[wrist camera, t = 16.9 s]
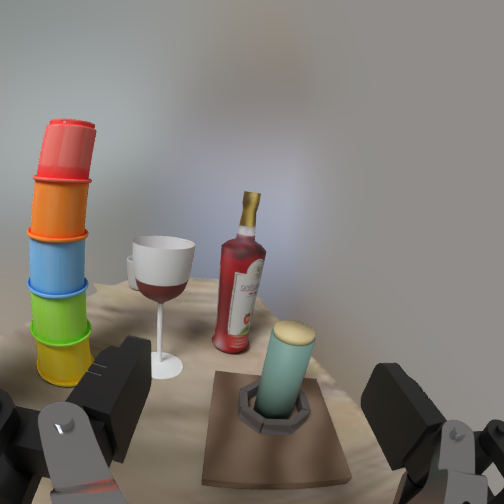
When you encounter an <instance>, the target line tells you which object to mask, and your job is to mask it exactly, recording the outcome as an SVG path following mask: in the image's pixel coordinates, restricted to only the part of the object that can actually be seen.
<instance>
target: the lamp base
mask: <svg viewBox="0 0 504 504" xmlns="http://www.w3.org/2000/svg"><path fill="white" fill-rule="evenodd" d="M260 379H261V376H259V375H248V374H239V373H230V372H222V371H215V378H214V385H213V393H212V400H211V408H210V416H209V424H208V432H207V440H206V448H205V457H204V465H203V474H202V485H207V486H216V487H226V488H239V489H300V488H313V487H324V486H332V485H339V484H346V483H348V481H349V480H350V479H351V478H352V476H351V473H350V470H349V467H348V465H347V462H346V459H345V456H344V453H343V451H342V448H341V445H340V442H339V439H338V437H337V434H336V431H335V428H334V426H333V423H332V420H331V417H330V415H329V412H328V409H327V407H326V404H325V401H324V398H323V396H322V393H321V390H320V388H319V385H318V382H317V380H316V379H308V378H304V379H303V382H302V385H301V388H300V390H299V393H298V396H297V399H296V402H295V405H294V407H293V410H292V413H291V416H290V418H289V419H288V420H284V419H265V418H264V417H262V416H261V415H259V414H258V413H257V412H255V411H254V410H253V408H254V404H255V400H256V396H257V392H258V387H259V383H260Z"/></svg>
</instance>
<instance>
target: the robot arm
mask: <svg viewBox="0 0 504 504" xmlns="http://www.w3.org/2000/svg"><path fill="white" fill-rule="evenodd" d="M151 380H152V366H151V341H150V340H147V339H143V338H138V337H134V336H130V335H129V336H127V337H126V339H125V340H124V342H123V343H122V345H121V346H120V348H118V347H114V346H111V347H109V348H107V349H106V350H104V351H102V352H100V354H99V355H98V356H97V358H96V359H95V360H94V362H93V364H91V366H90V367H89V368H88V371H87V372H86V373H85V374H84V375H83V377H82V378H81V380H80V381H79V382H78V384H77V385H76V387H75V388H74V390H73V391H72V392H71V394H70V395H69V397H68V398H67V400H66V401H65V402H54V403H51V404H49V405H47V406H45V407H44V408H43V409H42V410H41V411H37V410H32V409H27V408H22V407H17V406H15V405H14V403H13V401H12V399H11V397H10V395H9V394H8V393H7V392H5V391H4V390H2V389H0V504H31V503H32V500H33V498H34V495H35V493H36V490H37V488H38V485H39V483H40V480H41V478H42V477H46V478H51V481H52V485H53V491H51V492H50V496H51V501H52V504H127V502H126V500H125V498H124V496H123V495H122V493H121V491H120V489H119V487H118V485H117V484H116V482H115V480H114V479H113V477H112V474H111V472H110V470H109V467H110V464H111V462H112V460H114V461H117V462H120V463H123V462H124V459H125V456H126V453H127V450H128V447H129V445H130V442H131V439H132V436H133V434H134V431H135V428H136V425H137V423H138V420H139V417H140V415H141V412H142V409H143V407H144V404H145V402H146V399H147V396H148V394H149V391H150V387H151ZM361 408H362V411H363V413H364V415H365V417H366V419H367V421H368V423H369V425H370V427H371V429H372V431H373V433H374V435H375V437H376V439H377V441H378V443H379V445H380V447H381V449H382V451H383V453H384V455H385V457H386V459H387V461H388V463H389V465H390V467H391V469H392V471H393V470H397V469H401V468H404V467H405V468H406V471H405V472H404V474H403V475H402V477H401V481H400V484H399V487H398V490H397V493H396V496H395V499H394V502H393V504H504V488H503V489H502V491H501V492H500V493H499V494H497V495H496V496H494V495H493V493H492V492H491V490H490V488H489V486H488V481H487V477H486V476H484V475H481V474H482V473H483V472H484V471H485V470H486V469H487V468H488V467H489V466H490V465H491V464H492V462H494V464H495V465H496V467H497V468H498V470H499V472H500V473H501V475H502V476H503V477H504V422H503V421H501V420H491V421H490V422H489V423H488V424H487V426H486V427H485V429H484V430H483V431H476V432H473V431H472V430H471V429H470V427H469V426H468V425H466V424H465V423H463V422H461V421H458V420H450V421H447V420H446V419H445V418H444V416H443V415H442V414H441V413H440V411H439V410H438V409H437V407H436V406H435V405H434V403H433V402H432V401H431V400H430V398H428V396H427V395H426V393H425V392H423V390H422V388H421V387H420V386H419V385H418V383H417V382H416V381H414V380H413V379H412V378H410V377H409V376H408V375H407V374H406V373H405V372H404V371H403V369H402V368H401V367H400V365H399V364H397V363H379V364H377V365H376V366H375V368H374V370H373V372H372V374H371V377H370V379H369V381H368V383H367V385H366V387H365V389H364V391H363V393H362V396H361Z"/></svg>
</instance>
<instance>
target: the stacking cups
mask: <svg viewBox="0 0 504 504" xmlns="http://www.w3.org/2000/svg"><path fill="white" fill-rule="evenodd" d="M63 121H66V123H63ZM94 128H95V124H93V123H90V122H86V121H81V120H75V119H52V120H51V121H50V124H49V125H47V126H46V130H45V134H44V138H43V143H42V147H41V152H40V158H39V164H38V170H37V175H35V176H33V179H34V180H35V187H34V194H33V204H32V217H31V227H30V228H29V229H28V230H27V235H28V236H29V237H30V277H29V279H28V280H27V287H28V289H29V290H30V296H31V306H32V315H33V321H32V322H31V325H30V331H31V334H32V336H33V337H34V338H35V343H36V348H37V353H38V359H37V363H36V366H37V370H38V372H39V374H40V375H41V377H42V378H43V379H45V380H46V381H47V382H49V383H51V384H54V385H57V386H63V387H72V386H76V385H77V384H78V382H79V381H80V380H81V378H82V377H83V375H84V374H85V373H86V372H87V371H88V368H89V367H90V366H91V364H93V362H94V360H95V359H94V358H93V356H92V355H91V353H90V345H89V336H90V334H91V330H92V327H91V324H90V322H89V321H88V319H87V316H86V296H85V291H86V289H87V287H88V280H87V279H86V278H85V277H84V260H85V238H86V237H87V236H88V231H87V230H86V229H85V217H86V216H85V215H86V205H87V195H88V187H89V183H91V181H92V180H91V179H88V178H89V171H90V165H91V158H92V152H93V147H94V142H95V137H96V130H95V129H94Z"/></svg>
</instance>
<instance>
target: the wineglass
mask: <svg viewBox="0 0 504 504" xmlns="http://www.w3.org/2000/svg"><path fill="white" fill-rule="evenodd" d="M194 250H195V243H193V242H191V241H189V240H186V239H181V238H176V237H167V236H143V237H138V238H135V239H134V240H133V267H134V274H135V280H136V284H137V287H138V289H139V291H140V292H141V293H142V294H143V295H144V296H146V297H147V298H149V299H151V300H154V301H156V302H158V321H157V352H152V353H151V366H152V378H155V379H169V378H173V377H175V376H177V375H179V374H180V372H181V371H182V369H183V365H182V362H181V361H180V359H179V358H177V357H176V356H174V355H171V354H169V353H164V352H162V321H163V303H164V302H166V301H169V300H171V299H173V298H175V297H177V296H179V295H180V294H181V293H182V292H183V291H184V289H185V287H186V285H187V282H188V279H189V275H190V272H191V267H192V262H193V257H194Z"/></svg>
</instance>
